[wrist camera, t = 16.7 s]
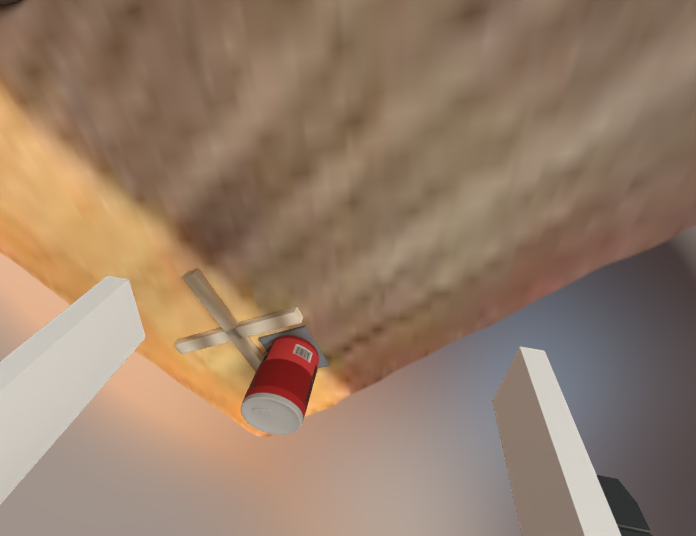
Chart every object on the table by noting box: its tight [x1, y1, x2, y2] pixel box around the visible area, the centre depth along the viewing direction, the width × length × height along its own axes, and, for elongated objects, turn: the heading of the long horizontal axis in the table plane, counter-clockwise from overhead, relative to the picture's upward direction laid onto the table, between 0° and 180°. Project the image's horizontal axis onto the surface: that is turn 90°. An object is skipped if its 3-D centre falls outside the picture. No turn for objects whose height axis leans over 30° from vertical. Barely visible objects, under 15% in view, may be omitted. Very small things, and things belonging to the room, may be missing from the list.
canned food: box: [241, 336, 319, 435], centre depth 50 cm, size 8×8×11 cm
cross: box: [174, 269, 329, 371], centre depth 54 cm, size 22×22×1 cm
